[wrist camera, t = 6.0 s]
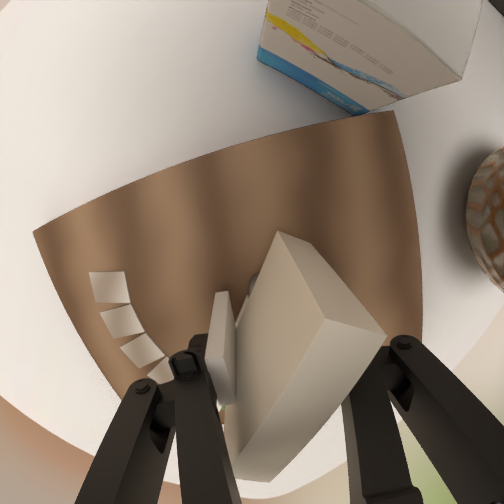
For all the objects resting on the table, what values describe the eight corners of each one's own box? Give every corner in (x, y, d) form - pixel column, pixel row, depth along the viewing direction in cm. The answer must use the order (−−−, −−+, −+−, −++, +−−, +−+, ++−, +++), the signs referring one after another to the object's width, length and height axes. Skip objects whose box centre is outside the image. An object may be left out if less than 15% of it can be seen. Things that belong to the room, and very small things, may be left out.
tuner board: (380, 114, 18) (395, 109, 16) (411, 351, 24) (422, 363, 22) (45, 226, 19) (30, 232, 17) (150, 419, 26) (146, 434, 23)
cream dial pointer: (273, 223, 18) (325, 318, 7) (302, 234, 18) (387, 335, 7) (199, 401, 22) (183, 521, 11) (221, 407, 22) (216, 526, 11)
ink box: (356, 119, 18) (464, 87, 7) (253, 59, 17) (268, -43, 6) (396, 45, 16) (487, -9, 5) (306, -11, 15) (348, -104, 4)
